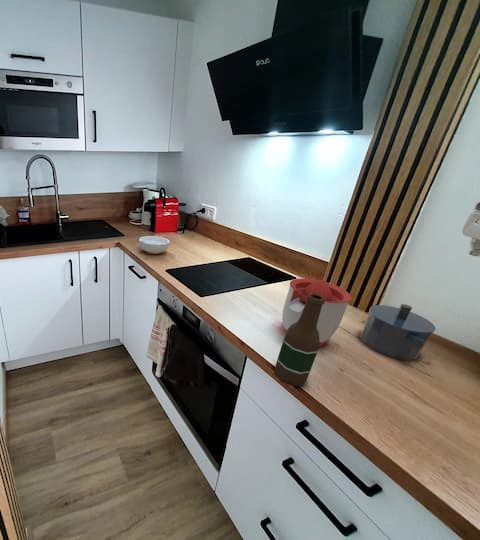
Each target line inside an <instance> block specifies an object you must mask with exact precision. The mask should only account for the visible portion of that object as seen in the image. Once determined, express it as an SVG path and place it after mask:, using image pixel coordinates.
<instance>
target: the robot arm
mask: <svg viewBox="0 0 480 540" xmlns="http://www.w3.org/2000/svg"><path fill="white" fill-rule="evenodd" d="M472 210H474V211H472V212H471V213H470V214H469V215H468V217H467V219H466V221H465V223H464V225H463V227H462V230H461V231H462V235H463V236H466V237H468V238H471V239H470V241H469V242H470V249H469V250H468V255H470V256H473V257H480V201H476V202H475V203H474V204H473V206H472Z"/></svg>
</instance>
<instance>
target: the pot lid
mask: <svg viewBox="0 0 480 540" xmlns="http://www.w3.org/2000/svg"><path fill="white" fill-rule="evenodd" d="M412 310H413V306H411V305H409V304H405V303H402V304H400V306H399V307H395V306H391V305H384V304H376V305H372V306H370V307H369V309H368V312H369V314H371V315H372V316H373V317H374V318H376V319H377V320H379V321H381V322H383V323H385V324H387V325H389V326H391V327H394V328H397V329H400V330H403V331H407V332H412V333H417V334H431V335H432V334H433V333H435V331H436V325H434V323H432V322H431V321H430V320H428V319H427V318H425V317H424V316H422V315H419V314H417V313H415V312H413V311H412Z"/></svg>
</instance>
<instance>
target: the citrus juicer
mask: <svg viewBox="0 0 480 540" xmlns="http://www.w3.org/2000/svg"><path fill="white" fill-rule="evenodd" d="M309 294H316V295H320V296H322V297H323V298H324V304H323V305H322V308H321V312H320V315H319V319H318V323H317V330H318V332H319V338H320V343H319V347H321V346H323V345H325V344H326V343H327V342H328V341H330V340H331V338H332V337H333V336H334V334H336V332H337V330H338V329H339V327H340V325H341V322H342V320H343V317H344V315H345V312H346V310H347V308H348V306H349V303H350V302H351V301H352V295H351V293H349V292H348V291H347V290H346V289H344V288H343V287H340V286H338V285H336V284H334V283H330V282H328V281H325V280H323V279H320V280H319V279H313V278H305V277H304V278H302V277H301V278H294V279H292V280H290V282H289V288H288V291H287V294H286V298H285V301H284V304H283V309H282V317H281V318H282V319H281V320H282V322H281V325H282V330H283V333H284V335H285V334H286V331H287V329H288V328H289V327H290V326H291V325H292V324H294V323H296V322H297V321H298V320H299V318H300V316H301V314H302V311H303V309H304V307H305V304H306V302H307V300H306V298H307V296H308V295H309Z"/></svg>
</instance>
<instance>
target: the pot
mask: <svg viewBox="0 0 480 540" xmlns="http://www.w3.org/2000/svg"><path fill="white" fill-rule="evenodd" d="M431 335H432V333H431V334H417V333H412V332H407V331H403V330H400V329H397V328H394V327H391V326H389V325H387V324H385V323H383V322H381V321H379V320H377V319H376V318H374V317H373V316H372V315H371V314H370V313H369V314H368V316H367V318H366V320H365V323H364V325H363V327H362V329H361V332H360V335H359V337H360V340H361V341H362V343H364V345H366V346H367V347H369V348H370V349H372V350H373V351H375V352H377V353H379V354H382V355H384V356H387V357H390V358H393V359H397V360H403V361H413V360H416V359H418V357H419V356H420V354H421V352H422V351H423V349H424V347H425V345H426V343H427V342H428V340H429V339H430V336H431Z"/></svg>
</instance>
